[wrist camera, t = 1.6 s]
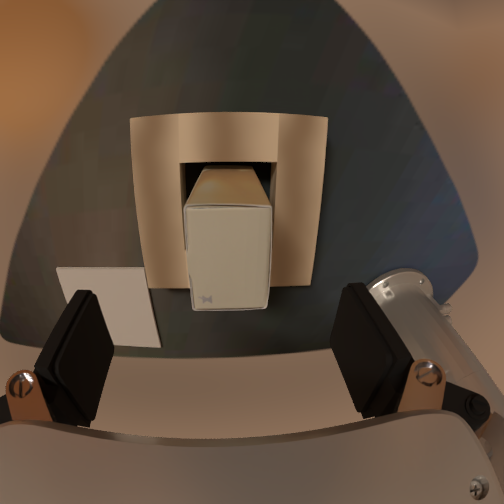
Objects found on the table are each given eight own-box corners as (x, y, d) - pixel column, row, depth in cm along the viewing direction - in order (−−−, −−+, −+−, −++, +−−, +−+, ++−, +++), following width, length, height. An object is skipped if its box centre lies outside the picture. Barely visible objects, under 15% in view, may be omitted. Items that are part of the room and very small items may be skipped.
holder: (316, 116, 23) (327, 117, 20) (302, 268, 29) (310, 285, 27) (141, 117, 21) (129, 118, 19) (154, 271, 28) (148, 288, 26)
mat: (144, 267, 28) (143, 269, 27) (161, 345, 33) (160, 347, 32) (57, 267, 27) (55, 269, 27) (83, 339, 32) (82, 341, 32)
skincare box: (251, 230, 27) (269, 315, 16) (204, 230, 27) (191, 316, 16) (253, 161, 24) (276, 204, 13) (202, 161, 24) (181, 205, 13)
